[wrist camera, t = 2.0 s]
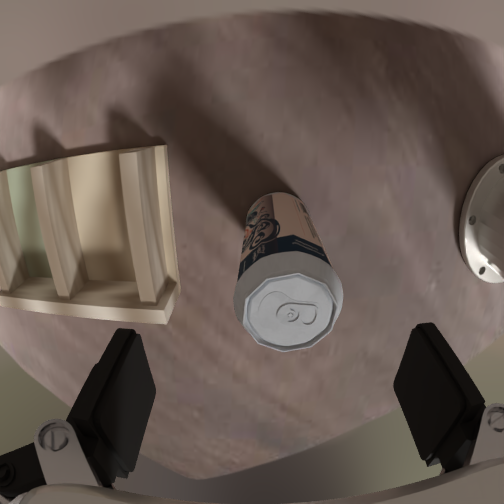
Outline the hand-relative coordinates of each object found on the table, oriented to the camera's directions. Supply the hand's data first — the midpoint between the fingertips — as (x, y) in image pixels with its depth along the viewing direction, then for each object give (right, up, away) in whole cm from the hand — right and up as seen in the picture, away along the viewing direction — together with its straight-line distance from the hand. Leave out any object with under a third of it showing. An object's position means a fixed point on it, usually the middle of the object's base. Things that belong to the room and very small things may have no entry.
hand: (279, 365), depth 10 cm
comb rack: (-16, +6, +14) cm, 22 cm away
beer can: (+1, +6, +14) cm, 15 cm away
